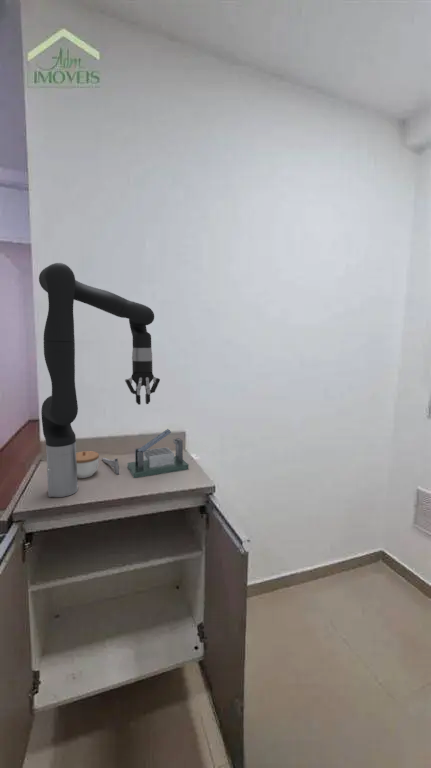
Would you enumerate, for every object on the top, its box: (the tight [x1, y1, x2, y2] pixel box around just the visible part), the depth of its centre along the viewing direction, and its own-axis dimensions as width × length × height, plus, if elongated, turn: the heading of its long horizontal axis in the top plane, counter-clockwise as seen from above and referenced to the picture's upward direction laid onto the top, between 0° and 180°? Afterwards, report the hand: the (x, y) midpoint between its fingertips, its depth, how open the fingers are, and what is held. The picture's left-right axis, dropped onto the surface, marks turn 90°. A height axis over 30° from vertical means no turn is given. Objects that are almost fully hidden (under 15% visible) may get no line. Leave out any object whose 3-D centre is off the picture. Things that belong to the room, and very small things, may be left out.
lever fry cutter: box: [127, 437, 189, 479], centre depth 141 cm, size 22×12×11 cm, turn 115°
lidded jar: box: [76, 450, 100, 479], centre depth 134 cm, size 11×11×9 cm
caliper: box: [101, 457, 120, 475], centre depth 143 cm, size 20×1×6 cm, turn 34°
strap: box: [138, 428, 172, 453], centre depth 140 cm, size 14×3×1 cm
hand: (143, 403), depth 136 cm, fingers open, 2 cm apart
